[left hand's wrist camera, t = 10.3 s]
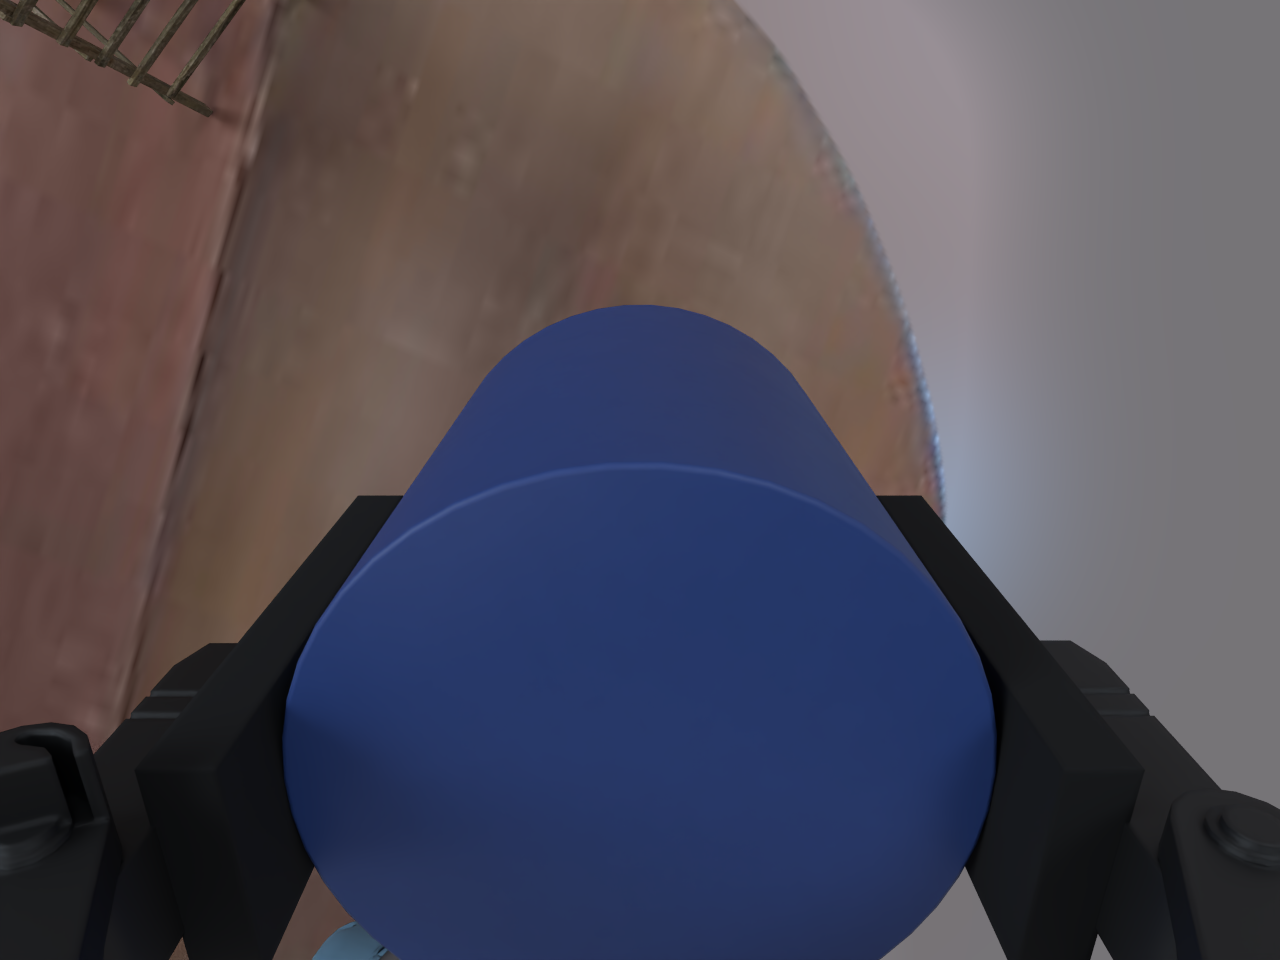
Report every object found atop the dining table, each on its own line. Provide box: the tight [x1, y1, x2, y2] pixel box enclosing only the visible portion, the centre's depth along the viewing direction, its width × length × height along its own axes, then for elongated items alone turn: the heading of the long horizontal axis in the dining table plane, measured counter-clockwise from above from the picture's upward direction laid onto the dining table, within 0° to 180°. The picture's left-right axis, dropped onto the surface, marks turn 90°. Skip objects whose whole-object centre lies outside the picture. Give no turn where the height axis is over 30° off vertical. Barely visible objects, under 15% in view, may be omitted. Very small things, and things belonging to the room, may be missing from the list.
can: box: [282, 305, 997, 960], centre depth 13 cm, size 8×8×8 cm
